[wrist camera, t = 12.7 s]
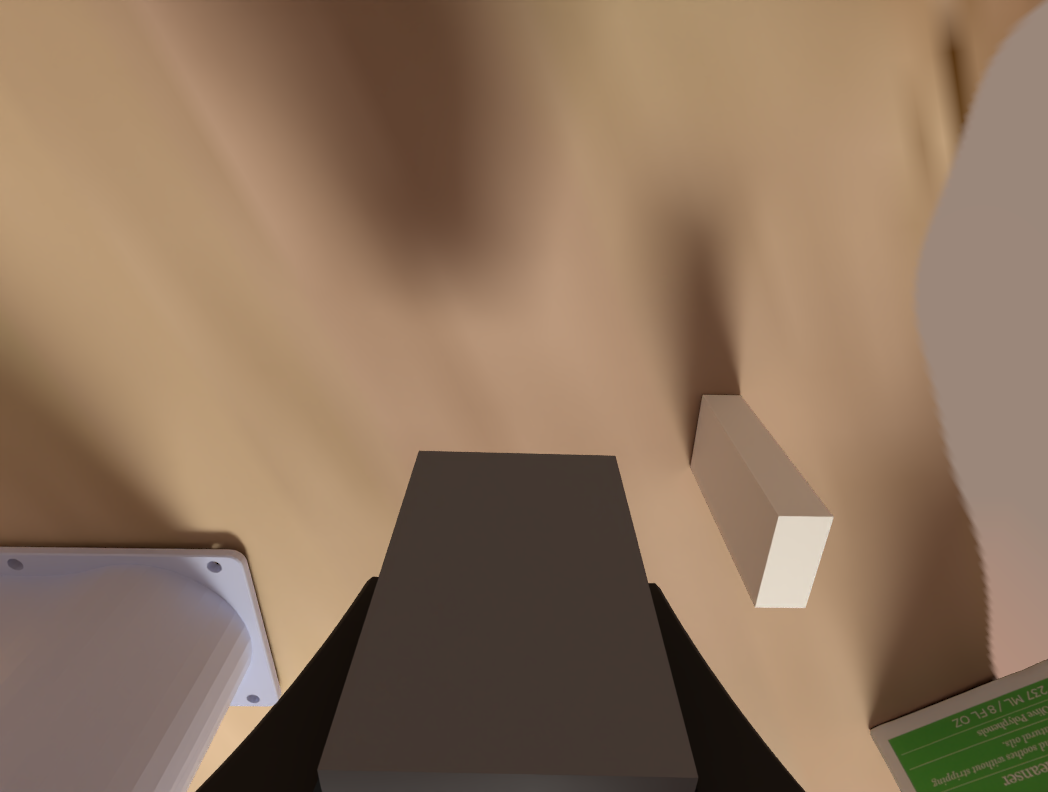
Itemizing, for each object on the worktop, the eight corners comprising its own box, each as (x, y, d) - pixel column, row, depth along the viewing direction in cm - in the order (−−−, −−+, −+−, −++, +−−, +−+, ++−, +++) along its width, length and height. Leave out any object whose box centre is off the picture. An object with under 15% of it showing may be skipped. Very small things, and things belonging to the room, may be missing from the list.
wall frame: (684, 467, 19) (754, 624, 13) (804, -280, 11) (1099, -696, 5) (732, 468, 19) (823, 624, 13) (885, -278, 11) (1266, -694, 5)
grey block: (430, 634, 13) (365, 989, 8) (418, 450, 11) (316, 769, 6) (594, 638, 13) (640, 993, 8) (615, 455, 11) (699, 777, 6)
